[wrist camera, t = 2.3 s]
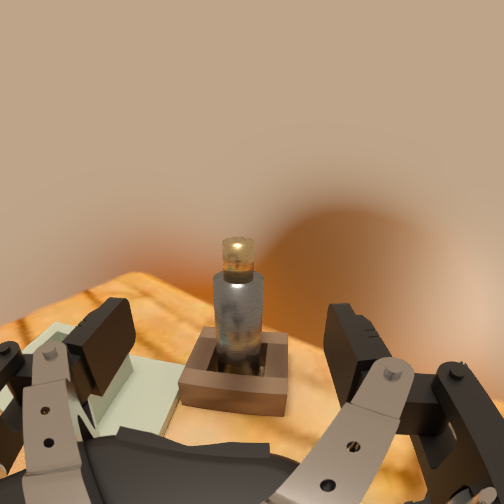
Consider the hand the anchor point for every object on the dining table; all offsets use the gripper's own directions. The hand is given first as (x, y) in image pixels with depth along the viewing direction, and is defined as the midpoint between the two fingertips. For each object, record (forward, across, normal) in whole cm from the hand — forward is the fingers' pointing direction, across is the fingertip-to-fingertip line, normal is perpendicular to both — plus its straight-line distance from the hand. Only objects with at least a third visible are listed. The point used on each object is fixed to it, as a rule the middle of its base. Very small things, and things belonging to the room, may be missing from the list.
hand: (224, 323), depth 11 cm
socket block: (+12, 0, +14) cm, 18 cm away
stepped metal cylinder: (+12, 0, +14) cm, 18 cm away
